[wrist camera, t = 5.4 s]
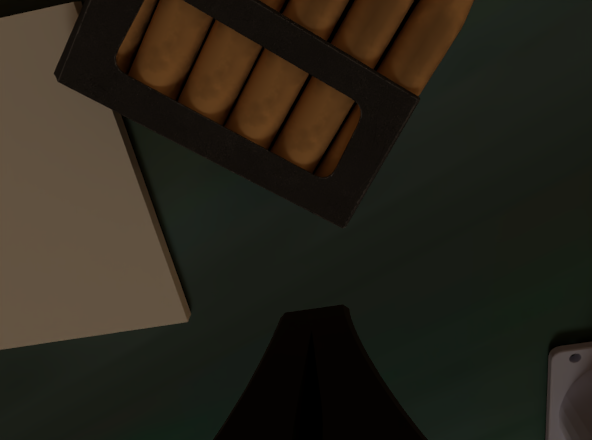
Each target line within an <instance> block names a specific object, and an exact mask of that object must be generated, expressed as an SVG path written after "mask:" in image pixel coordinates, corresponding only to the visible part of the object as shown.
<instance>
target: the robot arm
mask: <svg viewBox="0 0 592 440" xmlns="http://www.w3.org/2000/svg"><path fill="white" fill-rule="evenodd" d="M573 354H575V355H574V356H571V355H573ZM570 356H571V357H570ZM213 440H427V438H426V437H425V436H424V435H423V434H422V432H421V431H420V430H419V429H418V427H417V426H416V425H415V424H414V422H413V421H412V420H411V418H410V417H409V416H408V415H407V413H406V412H405V411H404V409H403V408H402V406H401V405H400V404H399V402H398V401H397V399H396V398H395V397H394V395H393V394H392V392H391V391H390V390H389V388H388V387H387V385H386V383H385V382H384V380H383V379H382V377H381V376H380V374H379V372H378V371H377V369H376V368H375V366H374V364H373V363H372V361H371V359H370V358H369V356H368V354H367V352H366V350H365V349H364V347H363V345H362V343H361V341H360V339H359V337H358V335H357V332H356V330H355V328H354V325H353V323H352V320H351V316H350V312H349V308H347V307H346V306H344V305H337V306H330V307H323V308H316V309H309V310H302V311H294V312H287V313H284V315H283V316H282V317H281V318H280V321H279V323H278V326H277V328H276V330H275V332H274V335H273V337H272V339H271V341H270V343H269V345H268V347H267V349H266V351H265V353H264V355H263V357H262V359H261V361H260V363H259V365H258V367H257V369H256V371H255V372H254V374H253V376H252V378H251V380H250V382H249V383H248V385H247V387H246V389H245V390H244V392H243V394H242V396H241V397H240V399H239V400H238V402H237V404H236V405H235V407H234V408H233V410H232V412H231V413H230V415H229V416H228V418H227V420H226V421H225V423H224V424H223V426H222V427H221V429H220V430H219V432H218V433H217V435H216V436H215V438H214V439H213ZM545 440H592V342H585V343H578V344H570V345H563V346H558V347H555V348H554V349H552V350H551V351H550V353H549V359H548V385H547V411H546V437H545Z"/></svg>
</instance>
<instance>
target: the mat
mask: <svg viewBox="0 0 592 440" xmlns="http://www.w3.org/2000/svg"><path fill="white" fill-rule="evenodd" d="M81 9H82V3H81V1H77V2H71V3H66V4H62V5H57V6H53V7H48V8H43V9H39V10H34V11H30V12H25V13H21V14H16V15H12V16H7V17H3V18H0V350H1V349H8V348H15V347H21V346H28V345H35V344H42V343H48V342H55V341H62V340H69V339H75V338H82V337H89V336H96V335H102V334H109V333H116V332H123V331H129V330H136V329H143V328H150V327H156V326H163V325H170V324H177V323H183V322H188V320H189V317H190V314H191V312H190V310H189V307H188V304H187V301H186V298H185V295H184V292H183V290H182V287H181V284H180V281H179V278H178V275H177V273H176V270H175V267H174V264H173V261H172V258H171V256H170V253H169V250H168V247H167V244H166V241H165V239H164V236H163V233H162V230H161V227H160V224H159V222H158V219H157V216H156V213H155V210H154V207H153V204H152V202H151V199H150V196H149V193H148V190H147V187H146V185H145V182H144V179H143V176H142V173H141V170H140V168H139V165H138V162H137V159H136V156H135V153H134V151H133V148H132V145H131V142H130V139H129V136H128V133H127V131H126V128H125V125H124V122H123V119H122V116H121V114H119V113H117V112H115V111H113V110H111V109H109V108H107V107H106V106H104V105H102V104H100V103H98V102H96V101H94V100H92V99H90V98H88V97H86V96H84V95H82V94H80V93H78V92H76V91H74V90H72V89H70V88H69V87H67V86H65V85H63V84H61V83H59V82H57V79H56V77H55V75H54V74H53V73H54V71H55V69H56V66H57V64H58V62H59V60H60V57H61V55H62V53H63V50H64V48H65V46H66V43H67V41H68V39H69V36H70V34H71V32H72V29H73V27H74V25H75V22H76V20H77V18H78V16H79V13H80V11H81Z"/></svg>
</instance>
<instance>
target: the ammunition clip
mask: <svg viewBox="0 0 592 440" xmlns="http://www.w3.org/2000/svg"><path fill="white" fill-rule="evenodd" d="M285 1H286V0H160V1H159V3H158V5H157V8H156V10H155V12H154V15H153V17H152V19H151V22H150V24H149V26H148V29H147V31H146V33H145V36H144V38H143V40H142V43H141V45H140V48H139V50H138V52H137V55H136V57H135V59H134V61H133V58H134V56H135V54H136V51H137V49H138V46H139V44H140V41H141V39H142V37H143V34H144V32H145V29H146V27H147V24H148V22H149V20H150V17H151V15H152V12H153V10H154V7H155V5H156V4H157V2H158V0H85V2H84V4H83V6H82V9H81V11H80V13H79V16H78V18H77V20H76V22H75V25H74V27H73V29H72V32H71V34H70V36H69V39H68V41H67V43H66V46H65V48H64V50H63V53H62V55H61V57H60V60H59V62H58V64H57V66H56V69H55V71H54V73H53V74H54V75H55V77H56V79H57V82H59V83H61V84H63V85H65V86H67V87H69V88H70V89H72V90H74V91H76V92H78V93H80V94H82V95H84V96H86V97H88V98H90V99H92V100H94V101H96V102H98V103H100V104H102V105H104V106H106V107H107V108H109V109H111V110H113V111H115V112H117V113H119V114H121V115H123V116H125V117H127V118H129V119H131V120H133V121H135V122H137V123H139V124H141V125H142V126H144V127H146V128H148V129H150V130H152V131H154V132H156V133H158V134H160V135H162V136H164V137H166V138H168V139H170V140H172V141H174V142H176V143H178V144H179V145H181V146H183V147H185V148H187V149H189V150H191V151H193V152H195V153H197V154H199V155H201V156H203V157H205V158H207V159H209V160H211V161H213V162H214V163H216V164H218V165H220V166H222V167H224V168H226V169H228V170H230V171H232V172H234V173H236V174H238V175H240V176H242V177H244V178H246V179H248V180H250V181H251V182H253V183H255V184H257V185H259V186H261V187H263V188H265V189H267V190H269V191H271V192H273V193H275V194H277V195H279V196H281V197H283V198H285V199H287V200H288V201H290V202H292V203H294V204H296V205H298V206H300V207H302V208H304V209H306V210H308V211H310V212H312V213H314V214H316V215H318V216H320V217H322V218H323V219H325V220H327V221H329V222H331V223H333V224H335V225H337V226H339V227H341V228H344V227H346V226H347V224H348V223H349V221H350V219H351V217H352V216H353V214H354V212H355V211H356V209H357V207H358V205H359V204H360V202H361V200H362V199H363V197H364V195H365V193H366V192H367V190H368V188H369V187H370V185H371V183H372V181H373V180H374V178H375V176H376V174H377V173H378V171H379V169H380V168H381V166H382V164H383V162H384V161H385V159H386V157H387V156H388V154H389V152H390V150H391V149H392V147H393V145H394V144H395V142H396V140H397V138H398V137H399V135H400V133H401V132H402V130H403V128H404V126H405V125H406V123H407V121H408V119H409V118H410V116H411V114H412V113H413V111H414V109H415V107H416V106H417V104H418V102H419V100H420V98H419V97H418V96H419V95H420V93H421V92H422V90H423V89H424V87H425V85H426V84H427V82H428V81H429V79H430V77H431V76H432V74H433V73H434V71H435V70H436V68H437V66H438V65H439V63H440V62H441V60H442V59H443V57H444V55H445V54H446V52H447V51H448V49H449V47H450V46H451V44H452V43H453V41H454V40H455V38H456V36H457V35H458V33H459V32H460V30H461V28H462V27H463V25H464V22H465V20H466V18H467V16H468V13H469V11H470V8H471V6H472V4H473V1H474V0H419V2H418V3H417V5H416V6H415V8H414V10H413V11H412V13H411V15H410V16H409V18H408V20H407V21H406V23H405V25H404V26H403V28H402V30H401V31H400V33H399V35H398V36H397V38H396V39H395V41H394V43H393V44H392V46H391V48H390V49H389V51H388V53H387V54H386V56H385V58H384V59H383V61H382V63H381V64H380V66H379V68H378V69H377V71H376V70H374V68H375V66H376V64H377V63H378V61H379V59H380V58H381V56H382V54H383V52H384V51H385V49H386V47H387V46H388V44H389V42H390V41H391V39H392V37H393V36H394V34H395V32H396V30H397V29H398V27H399V25H400V24H401V22H402V20H403V19H404V17H405V15H406V13H407V12H408V10H409V8H410V7H411V5H412V3H413V2H414V0H355V1H354V2H353V4H352V6H351V8H350V10H349V11H348V13H347V15H346V17H345V18H344V20H343V22H342V24H341V26H340V27H339V29H338V31H337V33H336V34H335V36H334V38H333V40H332V42H331V43H329V42H328V41H327V40H328V38H329V37H330V35H331V33H332V31H333V29H334V27H335V26H336V24H337V22H338V20H339V18H340V16H341V15H342V13H343V11H344V9H345V7H346V5H347V4H348V2H349V0H289V2H288V4H287V6H286V7H285V9H284V11H283V13H282V14H281V13H280V11H281V9H282V7H283V5H284V3H285ZM213 18H214V19H216V20H215V22H214V24H213V26H212V28H211V31H210V33H209V35H208V37H207V39H206V41H205V43H204V45H203V48H202V50H201V52H200V54H199V56H198V58H197V60H196V62H195V64H194V67H193V69H192V71H191V73H190V75H189V77H188V79H187V81H186V84H185V86H184V88H183V90H181V88H182V86H183V84H184V82H185V80H186V77H187V75H188V73H189V71H190V69H191V66H192V64H193V62H194V60H195V58H196V56H197V53H198V51H199V49H200V47H201V45H202V42H203V40H204V38H205V36H206V34H207V31H208V29H209V27H210V25H211V23H212V20H213ZM262 47H264V50H263V52H262V54H261V56H260V58H259V60H258V62H257V64H256V66H255V68H254V69H253V71H252V73H251V75H250V77H249V79H248V81H247V83H246V85H245V87H244V89H243V91H242V93H241V95H240V97H239V98H238V100H237V102H236V104H235V106H234V108H233V110H232V112H231V114H230V116H228V115H229V113H230V111H231V109H232V107H233V105H234V103H235V101H236V99H237V97H238V95H239V93H240V91H241V89H242V87H243V85H244V83H245V81H246V79H247V77H248V75H249V73H250V71H251V69H252V67H253V65H254V63H255V61H256V59H257V57H258V55H259V53H260V51H261V49H262ZM309 74H310V75H312V77H311V79H310V81H309V83H308V84H307V86H306V88H305V90H304V91H303V93H302V95H301V97H300V99H299V100H298V102H297V104H296V106H295V107H294V109H293V111H292V113H291V115H290V116H289V118H288V120H287V122H286V124H285V125H284V127H283V129H282V131H281V132H280V134H279V136H278V138H277V140H276V141H274V138H275V136H276V134H277V132H278V130H279V128H280V127H281V125H282V123H283V121H284V119H285V117H286V116H287V114H288V112H289V110H290V108H291V106H292V105H293V103H294V101H295V99H296V97H297V95H298V94H299V92H300V90H301V88H302V86H303V84H304V83H305V81H306V79H307V77H308V75H309ZM352 105H353V108H352V111H351V114H350V115H349V117H348V119H347V120H346V122H345V124H344V125H343V127H342V129H341V130H340V132H339V133H338V135H337V137H336V138H335V140H334V142H333V143H332V145H331V147H330V148H329V150H328V152H327V153H326V155H325V157H324V158H323V160H322V162H319V161H320V159H321V158H322V156H323V154H324V153H325V151H326V149H327V148H328V146H329V144H330V142H331V141H332V139H333V137H334V136H335V134H336V132H337V131H338V129H339V127H340V125H341V124H342V122H343V120H344V119H345V117H346V115H347V114H348V112H349V110H350V108H351V107H352Z"/></svg>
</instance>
